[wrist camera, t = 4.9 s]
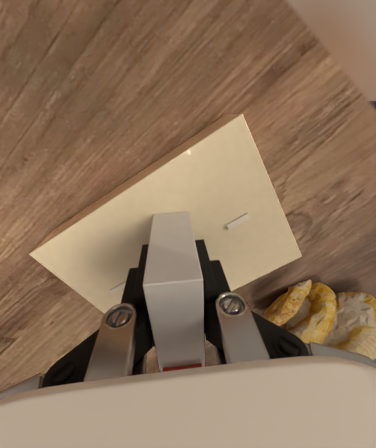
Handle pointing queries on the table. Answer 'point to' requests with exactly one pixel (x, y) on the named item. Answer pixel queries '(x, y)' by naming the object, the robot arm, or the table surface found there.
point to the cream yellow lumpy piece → (327, 317)
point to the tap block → (173, 203)
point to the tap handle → (175, 293)
